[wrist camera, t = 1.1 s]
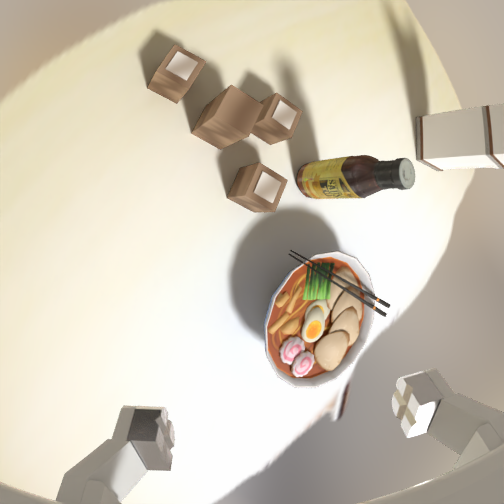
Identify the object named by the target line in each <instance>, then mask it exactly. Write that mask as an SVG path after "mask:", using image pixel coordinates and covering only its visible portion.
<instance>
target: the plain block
mask: <svg viewBox="0 0 504 504" xmlns="http://www.w3.org/2000/svg"><path fill="white" fill-rule="evenodd" d="M263 106H264V105H262V104H261V103H259V102H258V101H256V100H255V99H253V98H252V97H250V96H249V95H247V94H246V93H244V92H242V91H241V90H239V89H238V88H236V87H234V86H233V85H230V86H229V87H228V88H227V89H225V90H224V91H223V92H222V93H221V94H219V95H218V96H217V97H216V98H215V99H214V100H212V101H211V102H210V103H209V104H208V105H207V106H206V107H205V109H204V111H203V112H202V114H201V116H200V118H199V120H198V122H197V123H196V125H195V127H194V129H193V131H192V133H191V134H193V135H195V136H197V137H199V138H200V139H202V140H204V141H206V142H208V143H209V144H211V145H213V146H215V147H217V148H218V149H220V150H221V149H223V148H225V147H227V146H229V145H231V144H233V143H236V142H238V141H240V140H242V139H244V138H246V137H249V135H250V133H251V130H252V128H253V126H254V124H255V122H256V120H257V118H258V116H259V114H260V112H261V110H262V108H263Z"/></svg>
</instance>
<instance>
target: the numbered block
mask: <svg viewBox="0 0 504 504" xmlns="http://www.w3.org/2000/svg"><path fill="white" fill-rule="evenodd" d="M205 63H206V61H204V60H203V59H201V58H199V57H197V56H196V55H194V54H192V53H190V52H188V51H187V50H185V49H183V48H181V47H179V46H177V45H174V46H173V47H172V49H171V50H170V52H169V53H168V54H167V56H166V57H165V59H164V60H163V62H162V63H161V64H160V66H159V67H158V69H157V70H156V72H155V74H154V76H153V78H152V80H151V82H150V83H149V85H148V87H147V88H148V89H150V90H152V91H154V92H156V93H158V94H159V95H161V96H163V97H165V98H167V99H169V100H171V101H173V102H175V103H176V104H177V103H178V102H179V100H180V99H181V98H182V97H183V96H184V95H185V93H186V92H187V91H188V90H189V89H190V87H191V85H192V84H193V82H194V81H195V79H196V77H197V76H198V74H199V72H200V71H201V69H202V68H203V66H204V65H205Z"/></svg>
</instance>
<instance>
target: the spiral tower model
mask: <svg viewBox="0 0 504 504" xmlns="http://www.w3.org/2000/svg"><path fill="white" fill-rule="evenodd" d="M416 135H417V161H419V162H421V163H423V164H425V165H427V166H429V167H431V168H432V169H434V170H436V171H443V169H461V168H486V167H494V168H495V169H501V168H504V104H498V105H489V106H482V107H475V108H468V109H462V110H455V111H449V112H443V113H438V114H432V115H427V116H421V117H416Z"/></svg>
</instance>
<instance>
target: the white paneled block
mask: <svg viewBox="0 0 504 504" xmlns="http://www.w3.org/2000/svg"><path fill="white" fill-rule="evenodd" d="M287 181H288V180H287V179H285V178H284V177H282V176H280V175H279V174H277V173H276V172H274V171H272V170H271V169H269V168H268V167H266V166H264V165H263V164H261V163H256V164H252V165H249V166H246V167H242V168H240V169H239V171H238V174H237V176H236V178H235V180H234V183H233V185H232V187H231V189H230V192H229V194H228V196H227V198H228V199H230V200H232V201H234V202H236V203H237V204H239V205H241V206H243V207H245V208H247V209H249V210H251V211H252V212H275V210H276V208H277V206H278V203H279V201H280V198H281V196H282V193H283V191H284V188H285V186H286V183H287Z"/></svg>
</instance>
